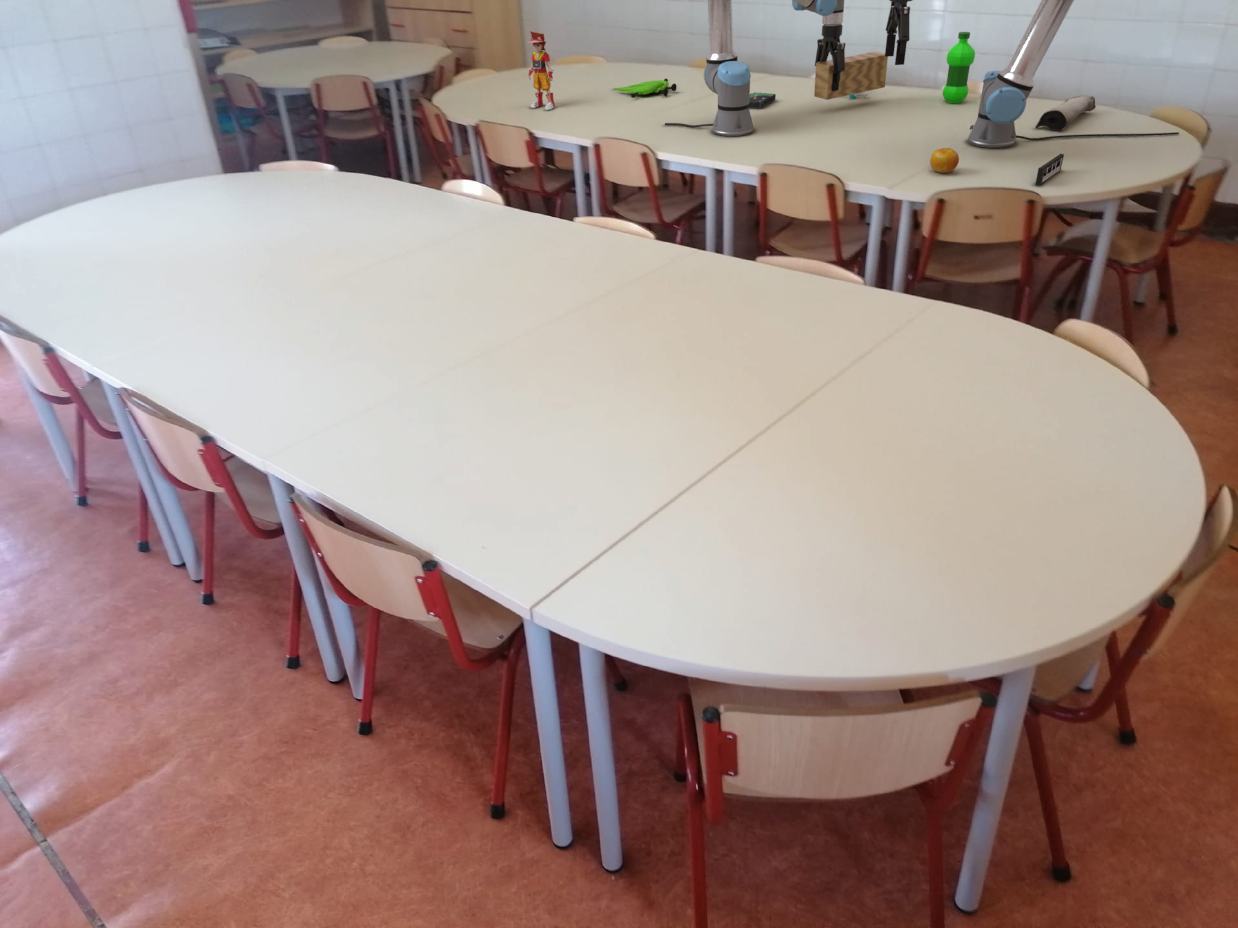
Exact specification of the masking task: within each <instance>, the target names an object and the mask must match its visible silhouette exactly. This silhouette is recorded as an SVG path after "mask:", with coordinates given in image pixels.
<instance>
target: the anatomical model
mask: <svg viewBox="0 0 1238 928" xmlns="http://www.w3.org/2000/svg"><path fill="white" fill-rule="evenodd" d="M848 96H849V98H851V99H857V98H859V97H868V96H869V93H868V92H861V93H856V94H851V95H848Z"/></svg>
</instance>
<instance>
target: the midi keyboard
mask: <svg viewBox="0 0 1238 928" xmlns="http://www.w3.org/2000/svg"><path fill="white" fill-rule="evenodd" d="M1064 157H1065V153H1059V154H1058V155H1056V156H1055V157H1052V159H1051V160H1049V161H1047V162H1045V164H1042V165H1041V166H1039V167H1038V169H1037V175H1036V179H1035V186H1040V185H1042V183H1044V182H1045V181H1047V180H1048V179H1049V178H1051V177H1052V176H1054V175H1055V174H1056V173H1058V172H1060V171H1061V170H1062V165H1063V161H1064Z"/></svg>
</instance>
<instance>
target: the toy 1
mask: <svg viewBox="0 0 1238 928" xmlns="http://www.w3.org/2000/svg"><path fill="white" fill-rule="evenodd" d="M529 33H530V35H531V36H528V37H527V38H528V39H529V40H528V41H527V43H529V44H530V43H531V44H532V48H533V50H534V51H533V52H532V55H531V58H530V59H531V63H530V66H528V74H527V75H528V76H527V77H528V79H529V80H531V75H532V74H533V84H532V85H533V86H532V87H533V88H534V89H535V90H536V92H534V95H535V97H536V100H535V101H533V102H531V105H530V108H531V109H535V108H538V107H542V106H544V101H543V100H544V99H543V95H544V92H546V94H545V97H546V99H547V103H546V104H545V106H544V110H546V111H549V110H553V109H554V107H555V106H556V105H555V99H554V92H551V91H550V90H551V86H552V84H551V82H552V81H553V80H554V77H553V73H554V71H555V70H554V69H552V68H551V63H550V61H551V59H550V58H551V57H550V54H549V53H548V52H547V50H546V48H545V46H546V44H547V41H545V35H544V33H543V32H542V33H539V32H535V31H529Z"/></svg>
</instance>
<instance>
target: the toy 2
mask: <svg viewBox="0 0 1238 928" xmlns="http://www.w3.org/2000/svg"><path fill="white" fill-rule="evenodd" d="M669 85H670V83H669V79H668V78H664V79H663V80H649V81H644V82H640V83H634V84H629V85H627V86H621V87H613V88H612V89H613V90H616V91H619V92H623V93H627V94H628V93H629V94H631V95H630V96H631V98H632V99H634V98H636V96H637V95H650V94H652V93H654V94H658V93H662V95H663V96H665V97H667V96H668V95H669V90H671V91H672V92H676V91H677V84H676V83H672V84H671V86H669Z"/></svg>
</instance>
